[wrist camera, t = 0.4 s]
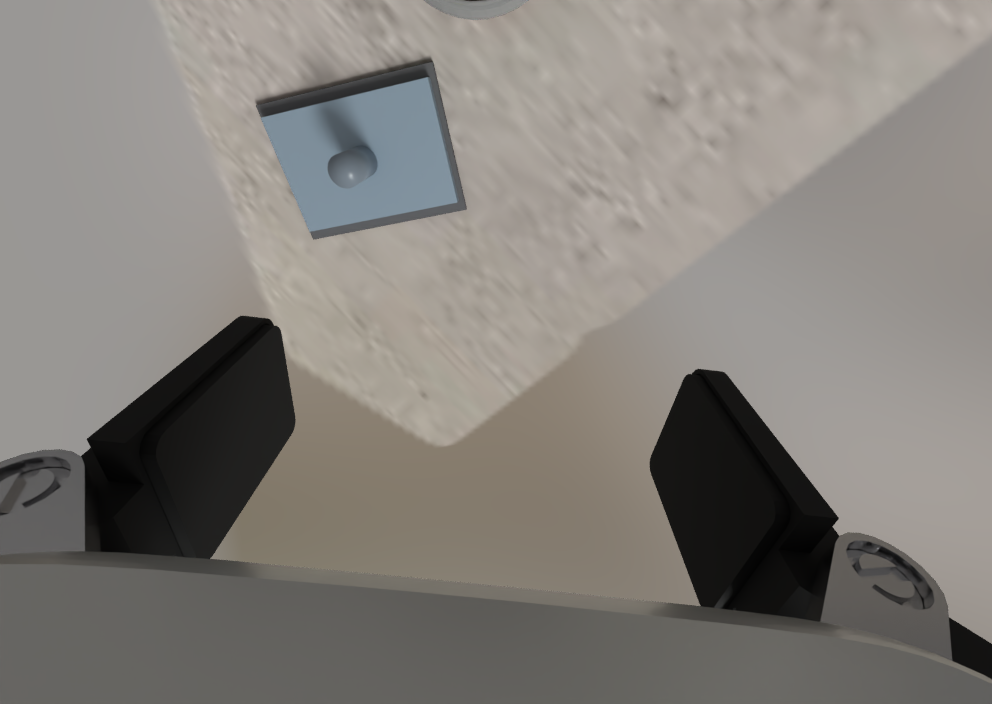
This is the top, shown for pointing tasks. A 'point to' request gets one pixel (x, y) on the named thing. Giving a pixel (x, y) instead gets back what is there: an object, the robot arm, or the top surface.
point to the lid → (365, 155)
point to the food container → (476, 7)
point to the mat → (363, 87)
